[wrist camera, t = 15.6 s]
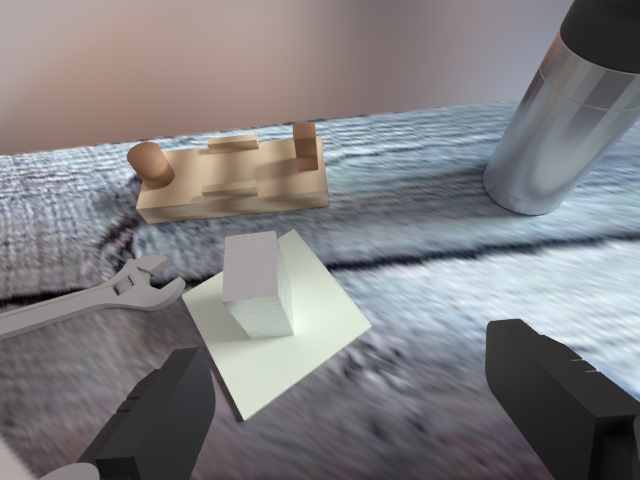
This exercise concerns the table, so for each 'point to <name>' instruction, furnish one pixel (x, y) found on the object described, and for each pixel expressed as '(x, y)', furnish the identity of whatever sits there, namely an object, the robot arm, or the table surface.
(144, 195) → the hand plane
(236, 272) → the grey block
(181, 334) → the table surface
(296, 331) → the mat
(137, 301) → the adjustable wrench
